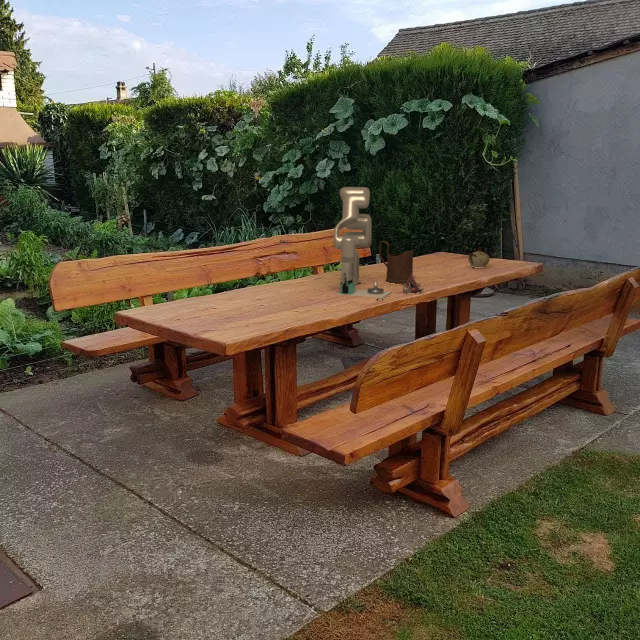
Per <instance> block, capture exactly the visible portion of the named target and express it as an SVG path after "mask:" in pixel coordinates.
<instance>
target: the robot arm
mask: <svg viewBox="0 0 640 640" xmlns="http://www.w3.org/2000/svg"><path fill="white" fill-rule="evenodd" d="M339 196H340V199H341V202H342V218H341V219H340V220H339V221H338V223H337V224H336V225H335V227H334V230H333V242H332V243H333V247H334V249H336V250H340V253H341V254H340V257H341V258H340V263H341V265H340V283H341V282H342V293H348V282H349V283H361V284H362V281H361V280H360V279H359V278H360V254H359V252H358V248H359V249H360V248H363V249H366V248H370V247H371V245H372V217H371V216H370V215H369V214H367V213H360V209H367V208H368V207H369V204H370V197H371V191H370V189H369V188H368V187H365V186H364V187H363V186H362V187H360V186H357V187H356V186H344V187H342V188H340V190H339ZM344 228H345V229H346V230H349V231H346V232H344V233H343V234H342V235H340V231H341V230H343V229H344Z"/></svg>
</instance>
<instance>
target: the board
mask: <svg viewBox="0 0 640 640" xmlns="http://www.w3.org/2000/svg"><path fill="white" fill-rule="evenodd" d="M367 290H368V289H356V288H355V293H353V294H351V295H350V294H340V291H339V292H337V293H335V295H339V296H340V295H341V296H354V297H355V296H356V297H366V298H367V297H368V298H377V299H383V298H385V297H387V296H388V295H390V294H392V293H393V292H392V291H387V290H386V291H385V290H384V293H383V294H369V293H367ZM390 296H391V295H390ZM388 297H389V296H388ZM388 297H387V298H388ZM385 299H386V298H385ZM383 300H384V299H383Z"/></svg>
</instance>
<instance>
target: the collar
mask: <svg viewBox="0 0 640 640" xmlns="http://www.w3.org/2000/svg"><path fill="white" fill-rule="evenodd" d="M355 289H356V285H355V283H349V282H348V293H342V283H341V282H340V286H339V290H340V291H339V292H340V294H350V295H349V296H351V294H353V293H355Z"/></svg>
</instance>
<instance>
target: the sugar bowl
mask: <svg viewBox="0 0 640 640" xmlns="http://www.w3.org/2000/svg"><path fill="white" fill-rule="evenodd" d="M490 259H491V258H490V256H489V253H488V252H484V251H482V247H481V246H479V247H478V248H477V251H474V252H471V253H470V254H469V255H468V257H467V261H468V263H469V265H470V266H471V267H472V266H474V267H485V268H486V266H487V265H488V264H489V263H490Z"/></svg>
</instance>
